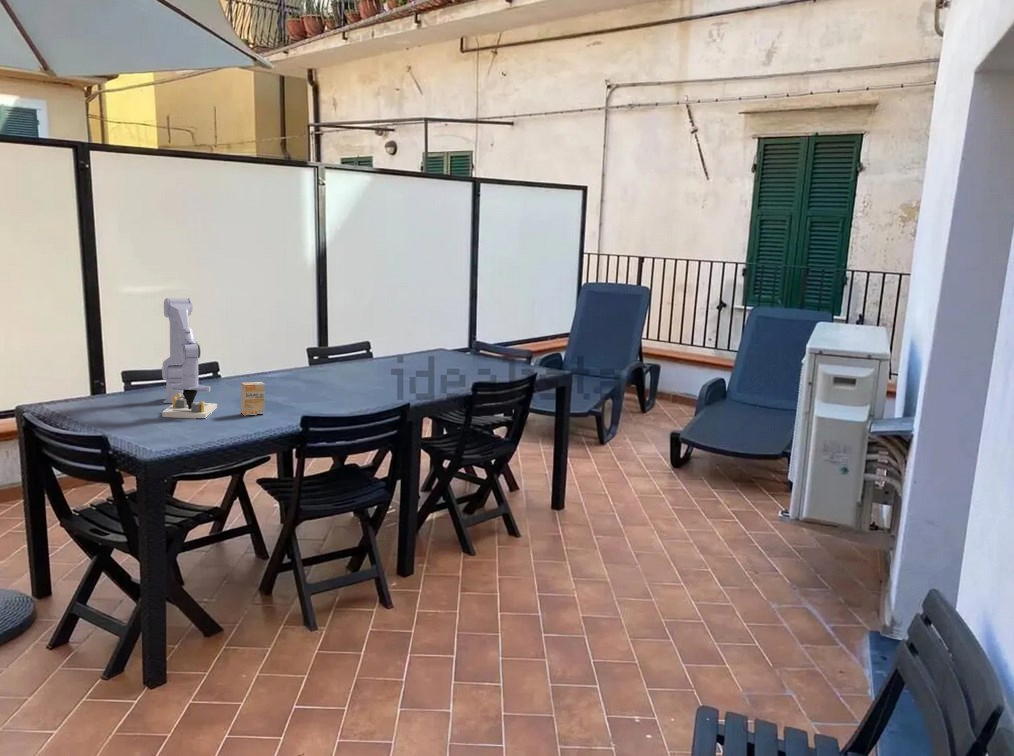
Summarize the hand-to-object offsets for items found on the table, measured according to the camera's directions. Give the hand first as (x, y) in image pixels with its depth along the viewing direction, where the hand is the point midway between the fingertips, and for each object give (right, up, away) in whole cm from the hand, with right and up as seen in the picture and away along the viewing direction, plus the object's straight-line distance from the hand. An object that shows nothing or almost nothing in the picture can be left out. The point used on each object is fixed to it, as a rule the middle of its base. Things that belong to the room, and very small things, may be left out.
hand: (190, 408), depth 292 cm
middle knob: (-6, +1, +5) cm, 7 cm away
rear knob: (-6, +2, +10) cm, 12 cm away
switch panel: (-2, -2, +6) cm, 6 cm away
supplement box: (+21, -3, +10) cm, 23 cm away
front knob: (+2, -1, 0) cm, 2 cm away
